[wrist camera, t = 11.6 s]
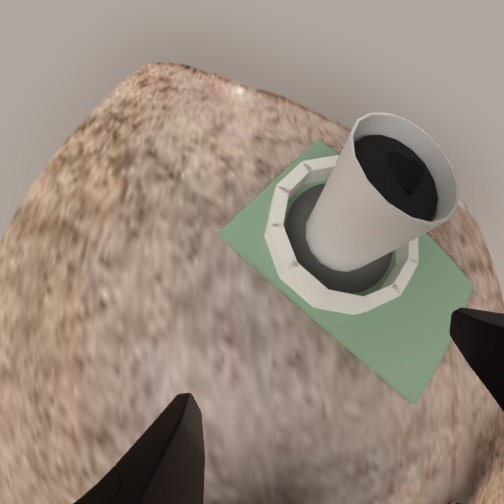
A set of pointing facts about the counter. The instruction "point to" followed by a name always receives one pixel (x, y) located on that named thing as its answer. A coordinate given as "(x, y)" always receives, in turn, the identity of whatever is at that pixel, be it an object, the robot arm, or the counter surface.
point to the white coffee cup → (381, 193)
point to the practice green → (353, 280)
